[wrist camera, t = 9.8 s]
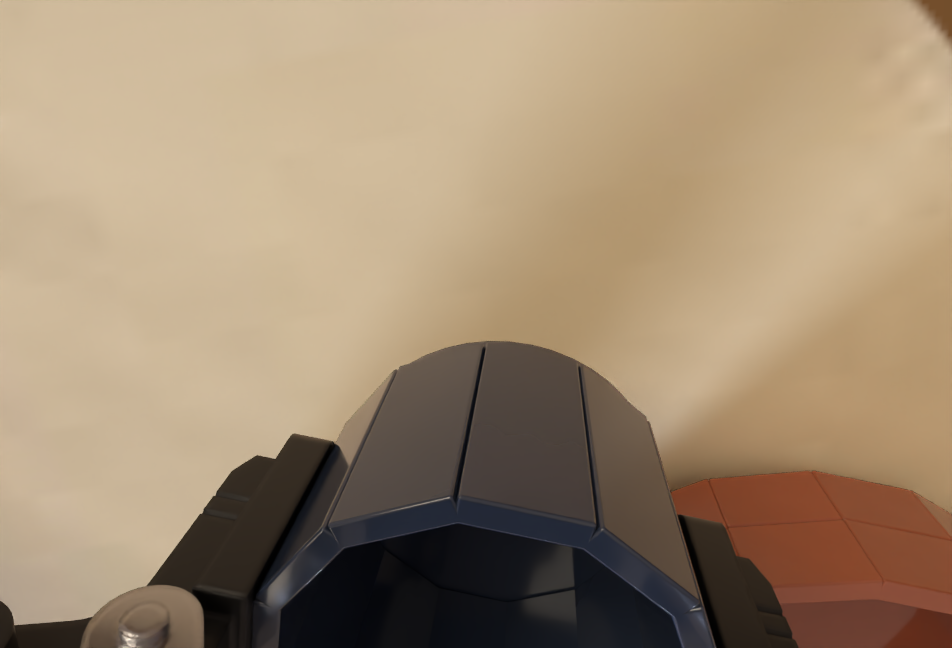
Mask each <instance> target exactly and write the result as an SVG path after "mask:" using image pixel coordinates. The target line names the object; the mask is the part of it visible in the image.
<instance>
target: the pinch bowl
mask: <svg viewBox="0 0 952 648" xmlns="http://www.w3.org/2000/svg"><path fill="white" fill-rule="evenodd" d="M251 648H717V647H716V644H715V641H714V637H713V634H712V630H711V627H710V624H709V620H708V617H707V613H706V610H705V607H704V603H703V600H702V596H701V593H700V590H699V586H698V583H697V580H696V576H695V573H694V569H693V566H692V563H691V559H690V556H689V553H688V549H687V546H686V542H685V539H684V536H683V532H682V529H681V526H680V522H679V519H678V515H677V512H676V509H675V505H674V502H673V499H672V495H671V492H670V488H669V485H668V482H667V478H666V475H665V472H664V468H663V465H662V461H661V458H660V455H659V451H658V448H657V445H656V441H655V438H654V434H653V431H652V428H651V424H650V422H649V421H647V418H646V416H645V415H643V414H642V413H641V412H640V411H639V410H637V409H636V408H635V407H634V406H633V405H631V404H630V403H629V402H628V401H627V400H626V399H625V397H624V396H623V395H622V394H621V393H620V392H619V391H618V390H617V389H616V388H615V387H614V386H613V385H612V384H611V383H610V382H609V381H607V380H606V379H605V378H603V377H602V376H601V375H599V374H598V373H596V372H595V371H594V370H592V369H591V368H589V367H587V366H585V365H584V364H582V363H580V362H578V361H576V360H575V359H573V358H570V357H568V356H565V355H563V354H560V353H558V352H555V351H553V350H549V349H546V348H542V347H538V346H534V345H530V344H523V343H516V342H504V341H484V342H474V343H466V344H461V345H457V346H452V347H448V348H444V349H441V350H439V351H436V352H433V353H430V354H427V355H425V356H423V357H421V358H419V359H417V360H416V361H414V362H412V363H410V364H407V365H403V366H400V367H399V369H398V370H397V369H396V370H394V371H393V372H392V373H391V374H390V375H389V376H388V377H387V378H386V380H385V381H384V382H383V383H382V384H381V385H380V386H379V387H378V388H377V389H376V390H375V392H374V393H373V394H372V395H371V396H370V397H369V398H368V399H367V400H366V401H365V403H364V404H363V405H362V406H361V407H360V408H359V409H358V410H357V411H356V412H355V413H354V415H353V416H352V417H351V418H350V419H349V420H348V421H347V422H346V424H345V426H344V427H343V429H342V431H341V433H340V435H339V437H338V439H337V441H336V443H335V444H334V446H333V448H332V450H331V452H330V454H329V456H328V458H327V460H326V461H325V463H324V465H323V467H322V469H321V471H320V473H319V475H318V476H317V478H316V480H315V482H314V484H313V486H312V488H311V490H310V492H309V493H308V495H307V497H306V499H305V501H304V503H303V505H302V507H301V509H300V510H299V512H298V514H297V516H296V518H295V520H294V522H293V524H292V525H291V527H290V529H289V531H288V533H287V535H286V537H285V539H284V541H283V542H282V544H281V546H280V548H279V550H278V552H277V554H276V556H275V558H274V559H273V561H272V563H271V565H270V567H269V569H268V571H267V573H266V575H265V576H264V578H263V580H262V582H261V584H260V586H259V588H258V590H257V591H256V594H255V598H254V601H253V609H252V634H251Z"/></svg>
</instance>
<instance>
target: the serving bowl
mask: <svg viewBox="0 0 952 648" xmlns="http://www.w3.org/2000/svg"><path fill="white" fill-rule="evenodd" d="M671 495H672V499H673V502H674V505H675V509H676V512H677V515H679V514H681V515H686V516H691V517H696V518H701V519H705V520H710V521H715V522H720V523H722V524H723V525H724V526H725V528H726V530H727V533H728V535H729V538H730V541H731V543H732V546H733V548H734V551H735V553H736V556H739V557H744V558H749V559H750V560H751V561H752V562H753V563H754V565H755V566H756V567H757V568H758V569H759V571H760V572H761V573H762V574H763V575H764V576H765V578H766V579H767V580H768V581H769V582H770V583H771V585H772V587H773V590H774V592H775V594H776V597H777V599H778V601H779V603H780V606H781V608H782V610H783V612H782V615H783V616H784V617H786V620H787V622H788V624H789V626H790V629H791V631H792V633H793V635H792V639H794V640H796V643H797V645H798V647H799V648H952V514H950V513H949V512H947V511H945V510H943V509H942V508H940V507H938V506H937V505H935V504H933V503H932V502H930V501H928V500H927V499H925V498H923V497H922V496H920V495H918V494H916V493H915V492H913V491H911V490H910V491H909V490H906V489H902V488H897V487H892V486H887V485H882V484H877V483H872V482H867V481H862V480H857V479H852V478H847V477H842V476H837V475H832V474H827V473H822V472H818V471H812V472H811V471H799V472H786V473H774V474H762V475H749V476H737V477H725V478H712V479H709V481H708V480H707V479H704V480H702V481H699V482H696V483H694V484H691V485H688V486H686V487H683V488H680V489H677V490H675V491H672V492H671Z"/></svg>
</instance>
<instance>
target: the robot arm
mask: <svg viewBox="0 0 952 648" xmlns="http://www.w3.org/2000/svg"><path fill="white" fill-rule="evenodd" d="M333 446H334V442H333V441H328V440H323V439H318V438H313V437H309V436H304V435H299V434H292V435H291V436H290V438H289V439H288V441H287V442H286V444H285V445H284V447H283V448H282V450H281V451H280V453H279V454H278V456H277V457H276V459H272V458H268V457H263V456H258V455H257V456H255V457H253V458H252V459H250V460H249V461H247V462H245V463H244V464H242V465H241V466H239V467H238V468H236V469H234V470H233V471H232V472H231V473H230V474H229V476H228V477H227V479H226V480H225V481H224V483H223V484H222V485H221V487H220V488H219V489H218V491H217V493H216V496H213V497H212V499H211V500H210V502H209V503H208V504H207V506H206V507H205V508H204V511H203V513H202V514H200V515H199V516H198V518H197V519H196V520H195V522H194V523H193V524H192V526H191V527H190V529H189V530H188V531H187V533H186V534H185V535H184V537H183V538H182V539H181V541H180V542H179V543H178V545H177V546H176V547H175V549H174V550H173V551H172V553H171V554H170V556H169V557H168V558H167V560H166V561H165V562H164V564H163V565H162V566H161V568H160V569H159V570H158V572H157V573H156V574H155V576H154V577H153V579H152V580H151V581H150V582H149V584H148V585H147V586H145V587H141V588H137V589H134V590H131V591H128V592H126V593H124V594H122V595H120V596H118V597H116V598H114V599H113V600H111V601H110V602H108V603H107V604H106V605H104V606H103V607H102V608H101V609H100V610H99V611H98V612H97V613H96V614H95V615H94V616H93V617H91V618H87V619H82V620H74V621H64V622H51V623H39V624H26V625H14V621H13V616H12V613H11V611H10V610H9V608H8V607H7V606H6V605H5V604H4V603H3V602H1V601H0V648H251V634H252V609H253V601H254V598H255V594H256V591H257V590H258V588H259V586H260V584H261V582H262V580H263V578H264V576H265V575H266V573H267V571H268V569H269V567H270V565H271V563H272V561H273V559H274V558H275V556H276V554H277V552H278V550H279V548H280V546H281V544H282V542H283V541H284V539H285V537H286V535H287V533H288V531H289V529H290V527H291V525H292V524H293V522H294V520H295V518H296V516H297V514H298V512H299V510H300V509H301V507H302V505H303V503H304V501H305V499H306V497H307V495H308V493H309V492H310V490H311V488H312V486H313V484H314V482H315V480H316V478H317V476H318V475H319V473H320V471H321V469H322V467H323V465H324V463H325V461H326V460H327V458H328V456H329V454H330V452H331V450H332V448H333ZM678 519H679V522H680V526H681V529H682V532H683V536H684V539H685V542H686V546H687V549H688V553H689V556H690V559H691V563H692V566H693V569H694V573H695V576H696V580H697V583H698V586H699V590H700V593H701V596H702V600H703V603H704V607H705V610H706V613H707V617H708V620H709V624H710V627H711V630H712V634H713V637H714V641H715V644H716V647H717V648H799V647H798V645H797V643H796V640H794V639H792V635H793V633H792V631H791V629H790V626H789V624H788V622H787V620H786V617H784V616H783V615H782V612H783V610H782V608H781V606H780V603H779V601H778V599H777V597H776V594H775V592H774V590H773V587H772V585H771V583H770V582H769V581H768V580H767V579H766V578H765V576H764V575H763V574H762V573H761V572H760V571H759V569H758V568H757V567H756V566H755V565H754V563H753V562H752V561H751V560H750V559H749V558H744V557H739V556H736V553H735V551H734V548H733V546H732V543H731V541H730V538H729V535H728V533H727V530H726V528H725V526H724V525H723V524H722V523H720V522H715V521H710V520H705V519H701V518H696V517H691V516H686V515H681V514H679V515H678Z"/></svg>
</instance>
